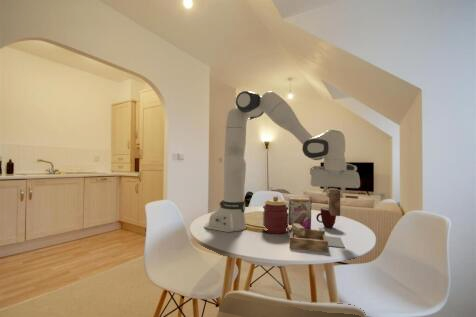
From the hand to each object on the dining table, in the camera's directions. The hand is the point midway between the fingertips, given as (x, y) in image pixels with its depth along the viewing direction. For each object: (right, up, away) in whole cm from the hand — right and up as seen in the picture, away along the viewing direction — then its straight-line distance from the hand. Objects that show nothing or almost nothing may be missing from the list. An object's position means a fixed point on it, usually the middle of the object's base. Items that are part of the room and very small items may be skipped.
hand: (334, 197), depth 101 cm
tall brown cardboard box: (0, -7, 0) cm, 7 cm away
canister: (-24, -20, +16) cm, 35 cm away
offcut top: (-16, -16, -1) cm, 23 cm away
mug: (+5, -21, +23) cm, 31 cm away
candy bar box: (-11, -20, +17) cm, 29 cm away
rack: (-12, -20, -3) cm, 23 cm away
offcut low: (-17, -20, -1) cm, 26 cm away
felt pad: (0, -20, 0) cm, 20 cm away
